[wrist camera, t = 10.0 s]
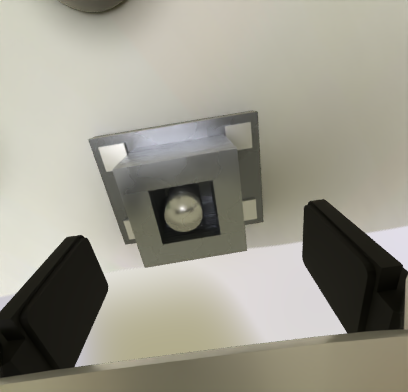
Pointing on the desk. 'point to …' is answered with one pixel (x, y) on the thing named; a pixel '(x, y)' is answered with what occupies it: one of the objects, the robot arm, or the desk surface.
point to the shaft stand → (190, 193)
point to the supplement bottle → (91, 4)
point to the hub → (175, 176)
